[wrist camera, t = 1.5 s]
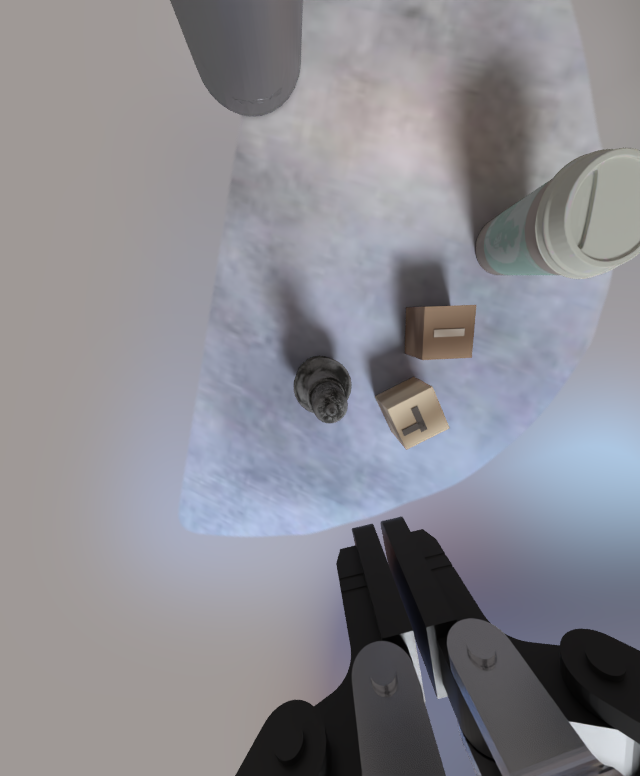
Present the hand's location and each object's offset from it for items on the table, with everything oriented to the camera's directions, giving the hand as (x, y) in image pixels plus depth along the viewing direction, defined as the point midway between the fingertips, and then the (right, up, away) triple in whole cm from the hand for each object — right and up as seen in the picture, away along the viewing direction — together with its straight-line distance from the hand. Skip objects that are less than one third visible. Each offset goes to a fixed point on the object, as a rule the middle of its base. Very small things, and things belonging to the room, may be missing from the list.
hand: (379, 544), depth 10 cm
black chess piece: (-2, +6, +24) cm, 25 cm away
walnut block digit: (+10, +12, +24) cm, 28 cm away
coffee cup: (+17, +20, +22) cm, 35 cm away
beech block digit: (+8, +3, +26) cm, 27 cm away
